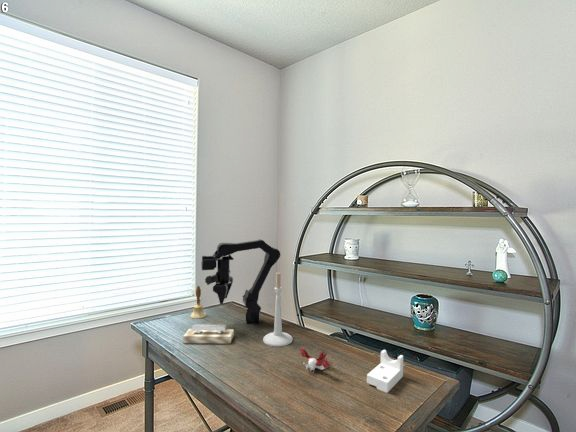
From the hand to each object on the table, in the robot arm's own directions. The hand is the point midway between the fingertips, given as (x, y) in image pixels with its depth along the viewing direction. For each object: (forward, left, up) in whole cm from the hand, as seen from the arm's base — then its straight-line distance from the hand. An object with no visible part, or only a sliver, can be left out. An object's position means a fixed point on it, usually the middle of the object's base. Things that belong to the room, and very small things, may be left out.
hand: (223, 301), depth 156 cm
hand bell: (+16, -13, -12) cm, 24 cm away
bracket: (-65, +47, -12) cm, 81 cm away
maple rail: (+3, +16, -12) cm, 20 cm away
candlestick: (-27, +16, -12) cm, 34 cm away
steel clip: (+3, +16, -12) cm, 20 cm away
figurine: (-42, +40, -12) cm, 59 cm away
